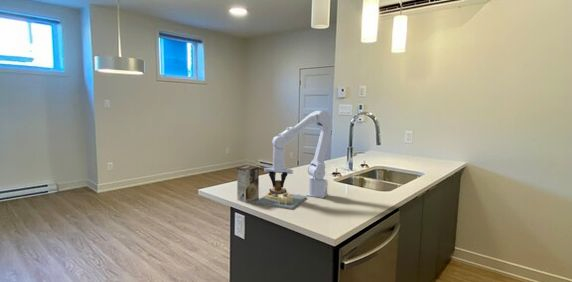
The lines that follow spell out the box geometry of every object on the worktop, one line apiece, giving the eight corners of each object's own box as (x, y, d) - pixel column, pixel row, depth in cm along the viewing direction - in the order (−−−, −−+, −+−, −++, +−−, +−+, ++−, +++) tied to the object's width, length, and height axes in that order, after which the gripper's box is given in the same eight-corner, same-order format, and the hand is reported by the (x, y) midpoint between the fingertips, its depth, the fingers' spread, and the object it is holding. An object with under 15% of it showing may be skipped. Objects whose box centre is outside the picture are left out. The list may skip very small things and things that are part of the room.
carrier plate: (306, 198, 159) (306, 188, 158) (292, 209, 141) (292, 198, 141) (272, 193, 166) (272, 184, 165) (255, 203, 149) (255, 193, 148)
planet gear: (287, 190, 161) (288, 179, 161) (284, 195, 153) (285, 184, 152) (271, 188, 163) (271, 178, 162) (267, 193, 154) (267, 182, 154)
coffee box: (250, 195, 161) (250, 164, 159) (259, 198, 157) (259, 166, 155) (236, 199, 154) (236, 167, 152) (245, 202, 150) (245, 169, 148)
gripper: (294, 159, 158) (293, 185, 160) (266, 158, 161) (266, 183, 163) (291, 162, 151) (291, 189, 153) (262, 160, 154) (262, 187, 156)
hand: (278, 186), depth 157 cm, fingers closed on planet gear, 4 cm apart
